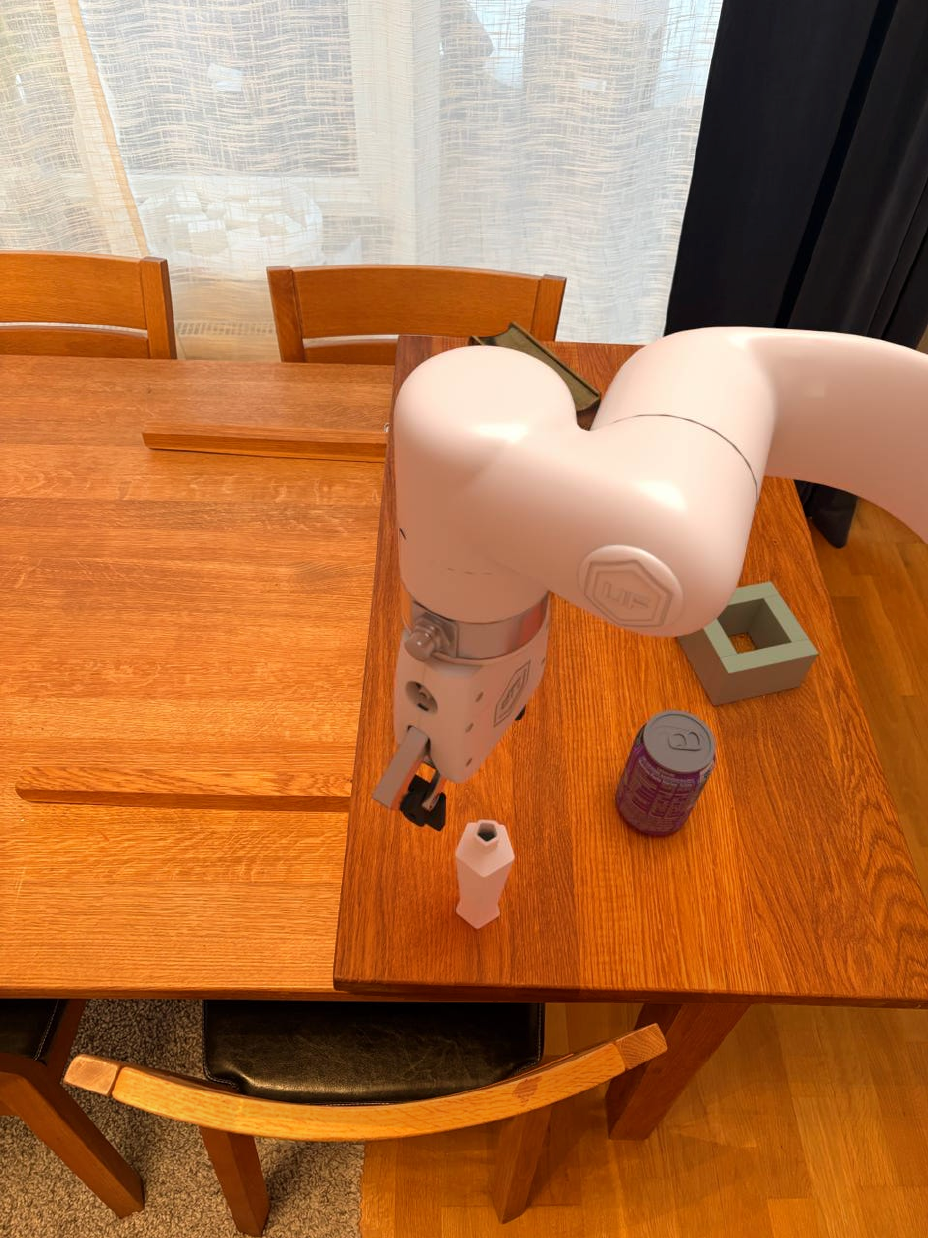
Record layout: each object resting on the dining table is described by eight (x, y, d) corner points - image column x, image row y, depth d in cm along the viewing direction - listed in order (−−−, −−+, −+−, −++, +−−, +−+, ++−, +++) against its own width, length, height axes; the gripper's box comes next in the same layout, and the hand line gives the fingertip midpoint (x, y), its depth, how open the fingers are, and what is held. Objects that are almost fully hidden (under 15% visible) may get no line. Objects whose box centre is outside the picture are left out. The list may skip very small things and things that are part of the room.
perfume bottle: (450, 931, 74) (454, 860, 63) (453, 882, 77) (458, 805, 65) (503, 935, 74) (517, 864, 63) (504, 885, 77) (518, 809, 65)
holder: (799, 687, 92) (819, 653, 87) (713, 706, 90) (728, 673, 85) (755, 615, 98) (771, 581, 93) (673, 632, 96) (685, 597, 92)
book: (575, 574, 101) (610, 399, 82) (538, 592, 99) (564, 417, 80) (496, 493, 110) (511, 317, 90) (461, 509, 108) (467, 332, 88)
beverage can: (679, 770, 85) (710, 703, 76) (695, 837, 81) (730, 775, 71) (608, 773, 85) (631, 706, 75) (621, 840, 80) (647, 778, 71)
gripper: (441, 749, 37) (438, 898, 50) (617, 519, 47) (576, 696, 60) (306, 671, 40) (337, 832, 53) (499, 467, 49) (485, 648, 62)
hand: (464, 760), depth 56 cm, fingers open, 9 cm apart
